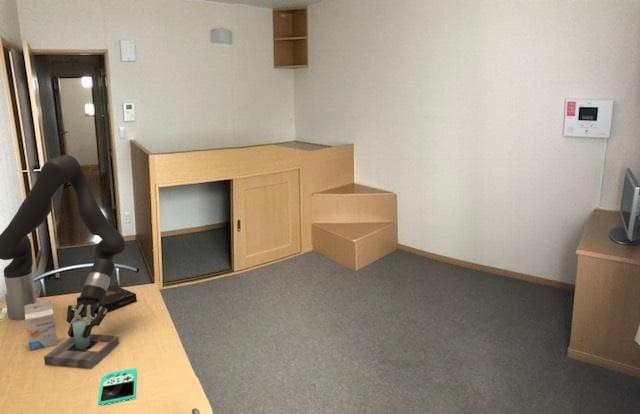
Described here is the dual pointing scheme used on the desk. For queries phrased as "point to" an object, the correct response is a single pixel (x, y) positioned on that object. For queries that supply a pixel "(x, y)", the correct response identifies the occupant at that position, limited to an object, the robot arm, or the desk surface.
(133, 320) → the desk surface
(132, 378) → the handheld game console
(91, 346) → the holder
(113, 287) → the portable cd player
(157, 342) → the desk surface
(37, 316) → the ink box
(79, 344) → the peg
